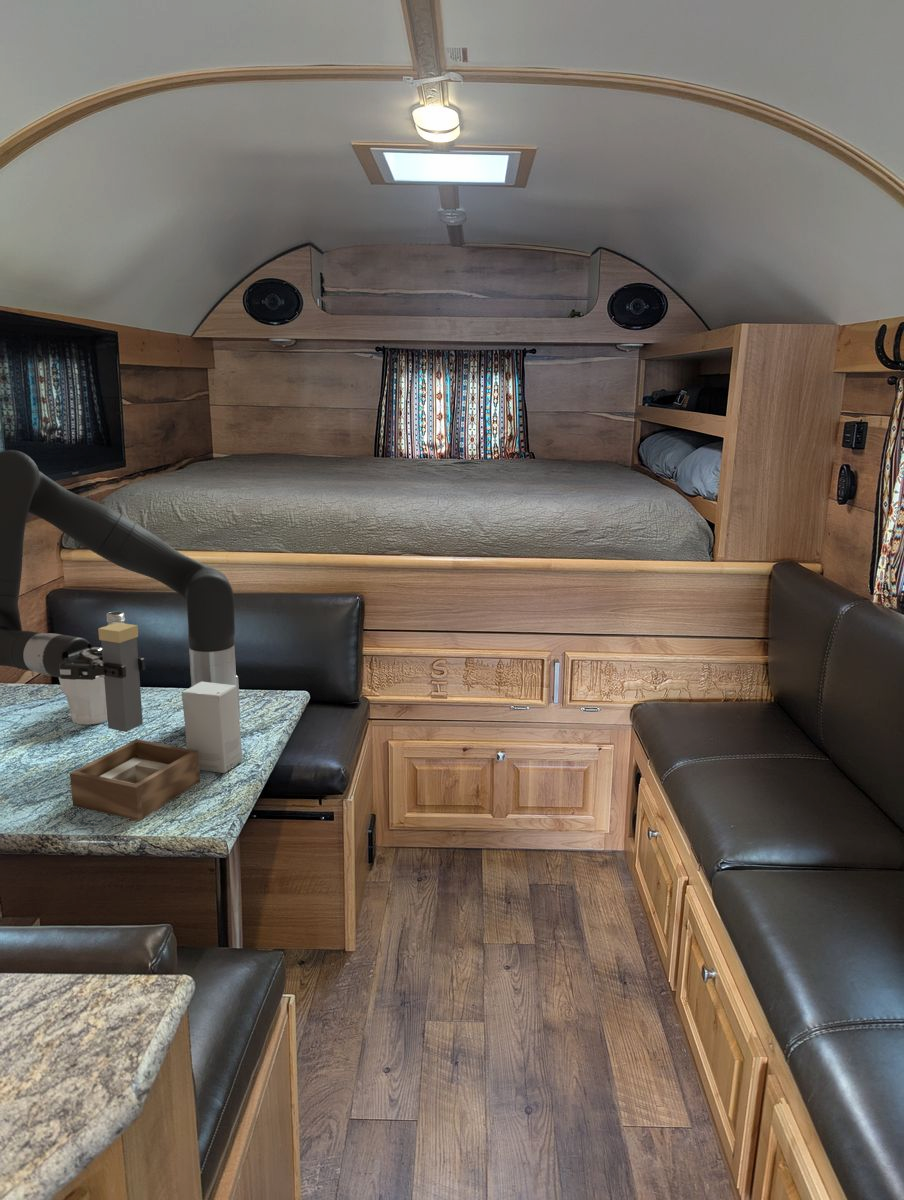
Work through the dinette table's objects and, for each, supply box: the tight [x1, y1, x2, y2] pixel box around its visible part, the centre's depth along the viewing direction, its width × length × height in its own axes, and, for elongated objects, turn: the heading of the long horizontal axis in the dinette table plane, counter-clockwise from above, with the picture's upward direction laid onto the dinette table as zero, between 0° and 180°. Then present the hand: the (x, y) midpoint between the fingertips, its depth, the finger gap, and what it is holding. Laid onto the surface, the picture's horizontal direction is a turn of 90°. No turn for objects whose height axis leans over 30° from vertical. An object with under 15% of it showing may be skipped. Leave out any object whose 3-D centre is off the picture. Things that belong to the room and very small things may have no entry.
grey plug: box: [98, 622, 144, 733], centre depth 144 cm, size 4×4×18 cm
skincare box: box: [181, 682, 243, 774], centre depth 158 cm, size 8×7×16 cm
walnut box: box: [69, 739, 201, 822], centre depth 147 cm, size 16×14×6 cm
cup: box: [58, 676, 108, 726], centre depth 181 cm, size 12×12×11 cm
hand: (133, 668), depth 143 cm, fingers closed on grey plug, 4 cm apart
